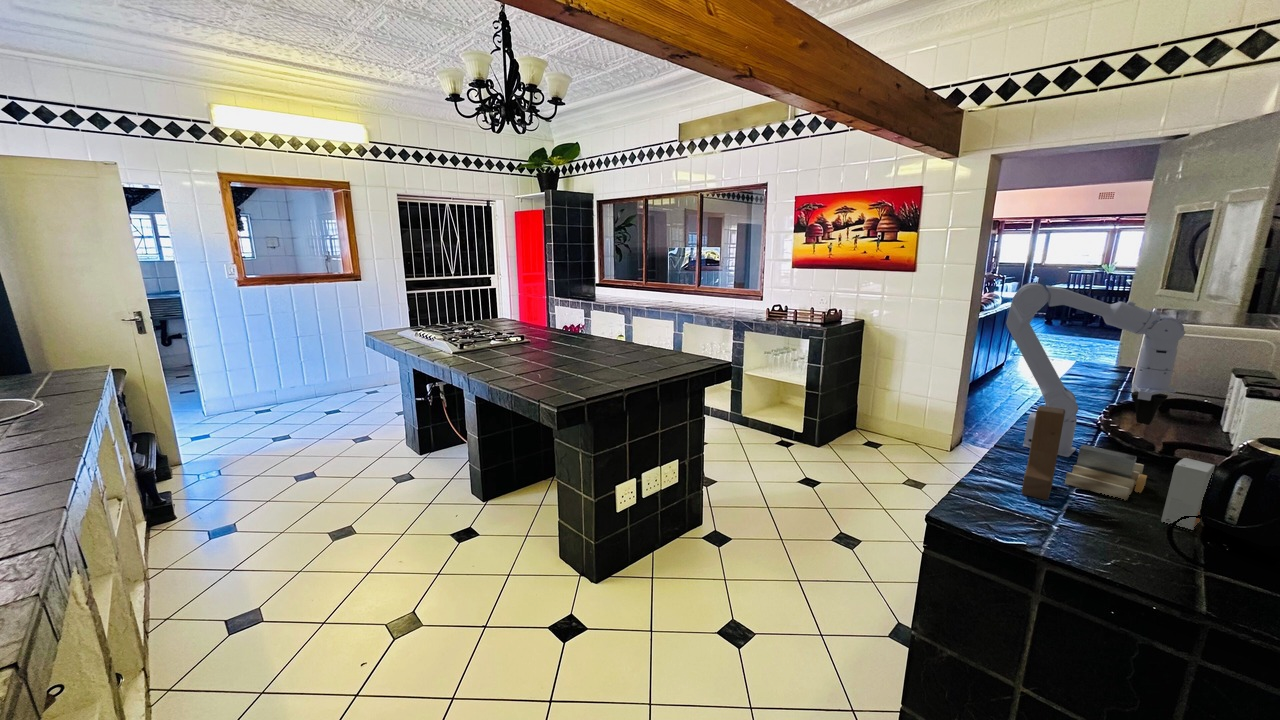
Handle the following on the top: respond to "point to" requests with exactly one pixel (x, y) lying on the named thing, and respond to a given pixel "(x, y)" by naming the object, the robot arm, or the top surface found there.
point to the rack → (1107, 481)
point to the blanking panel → (1106, 461)
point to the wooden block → (1043, 452)
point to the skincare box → (1187, 492)
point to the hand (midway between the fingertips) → (1143, 423)
